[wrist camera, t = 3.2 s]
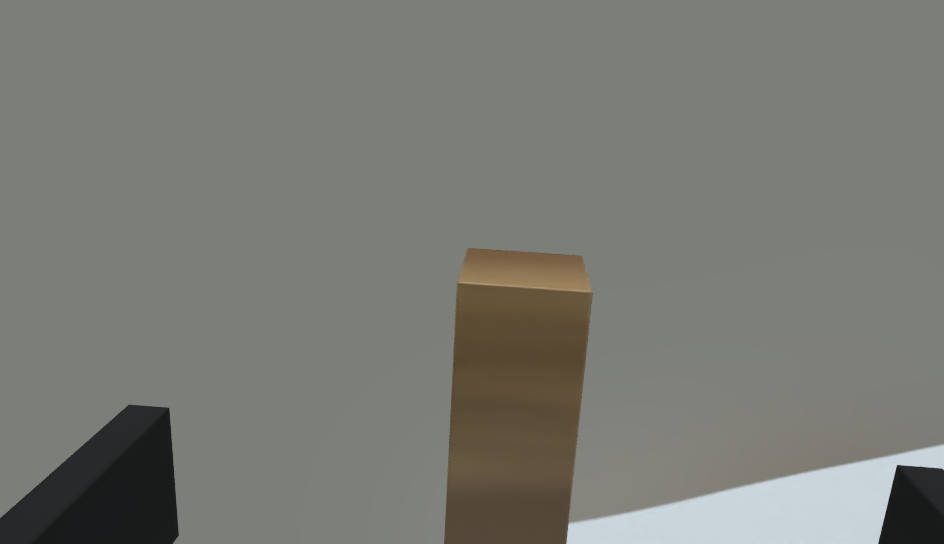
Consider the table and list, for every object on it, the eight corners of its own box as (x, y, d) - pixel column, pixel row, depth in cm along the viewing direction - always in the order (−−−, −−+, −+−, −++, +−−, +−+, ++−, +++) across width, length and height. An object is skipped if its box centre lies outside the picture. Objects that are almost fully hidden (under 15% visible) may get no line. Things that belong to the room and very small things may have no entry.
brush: (615, 741, 24) (677, 297, 19) (368, 715, 24) (375, 276, 20) (604, 653, 27) (654, 260, 23) (388, 632, 28) (397, 242, 23)
